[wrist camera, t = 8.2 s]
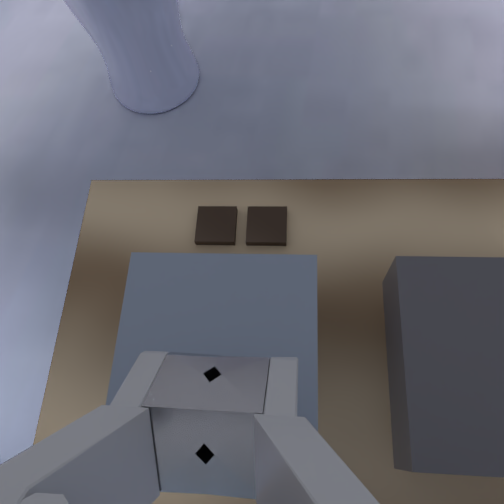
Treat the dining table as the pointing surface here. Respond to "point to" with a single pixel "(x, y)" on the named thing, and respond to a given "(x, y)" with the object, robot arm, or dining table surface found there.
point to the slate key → (222, 312)
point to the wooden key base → (328, 294)
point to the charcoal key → (446, 363)
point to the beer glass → (141, 51)
